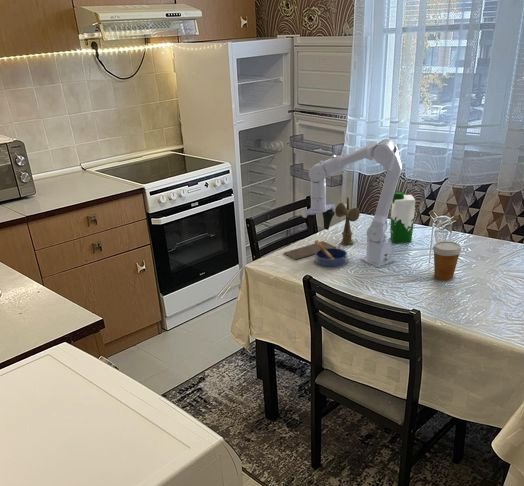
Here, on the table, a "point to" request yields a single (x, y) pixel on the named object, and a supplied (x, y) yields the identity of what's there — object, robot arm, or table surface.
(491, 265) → the table surface
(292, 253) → the board
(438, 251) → the disposable coffee cup
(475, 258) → the table surface
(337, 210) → the kendama
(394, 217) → the milk carton
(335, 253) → the bowl
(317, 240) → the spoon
